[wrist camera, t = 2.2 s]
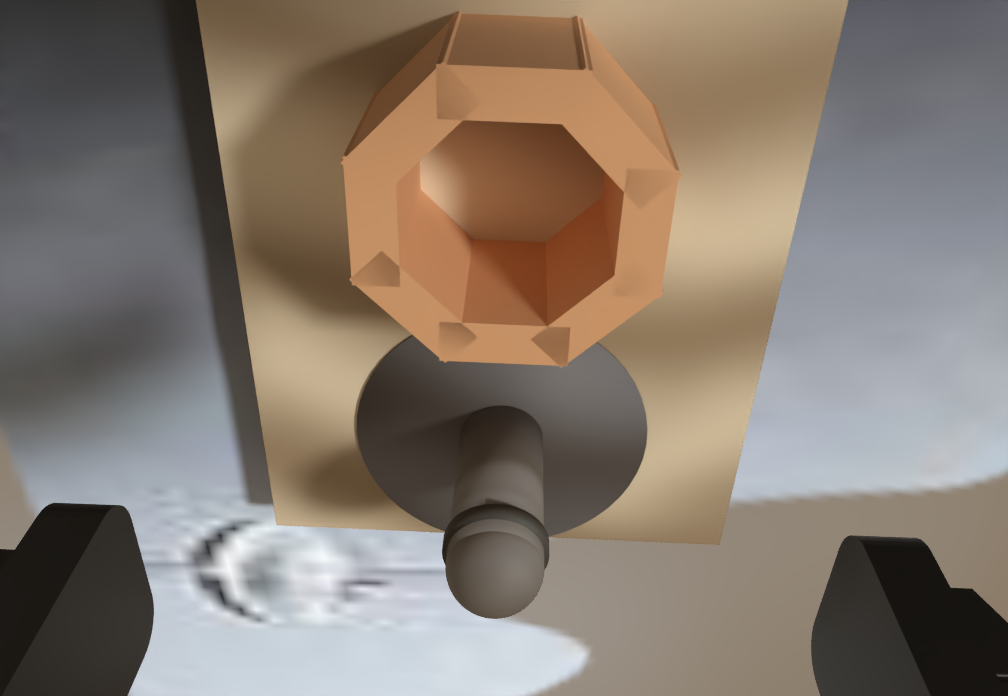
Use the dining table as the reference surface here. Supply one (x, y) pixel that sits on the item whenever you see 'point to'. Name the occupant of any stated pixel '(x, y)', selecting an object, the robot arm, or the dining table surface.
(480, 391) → the post board
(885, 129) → the dining table surface
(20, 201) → the dining table surface
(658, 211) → the ring
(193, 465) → the dining table surface
